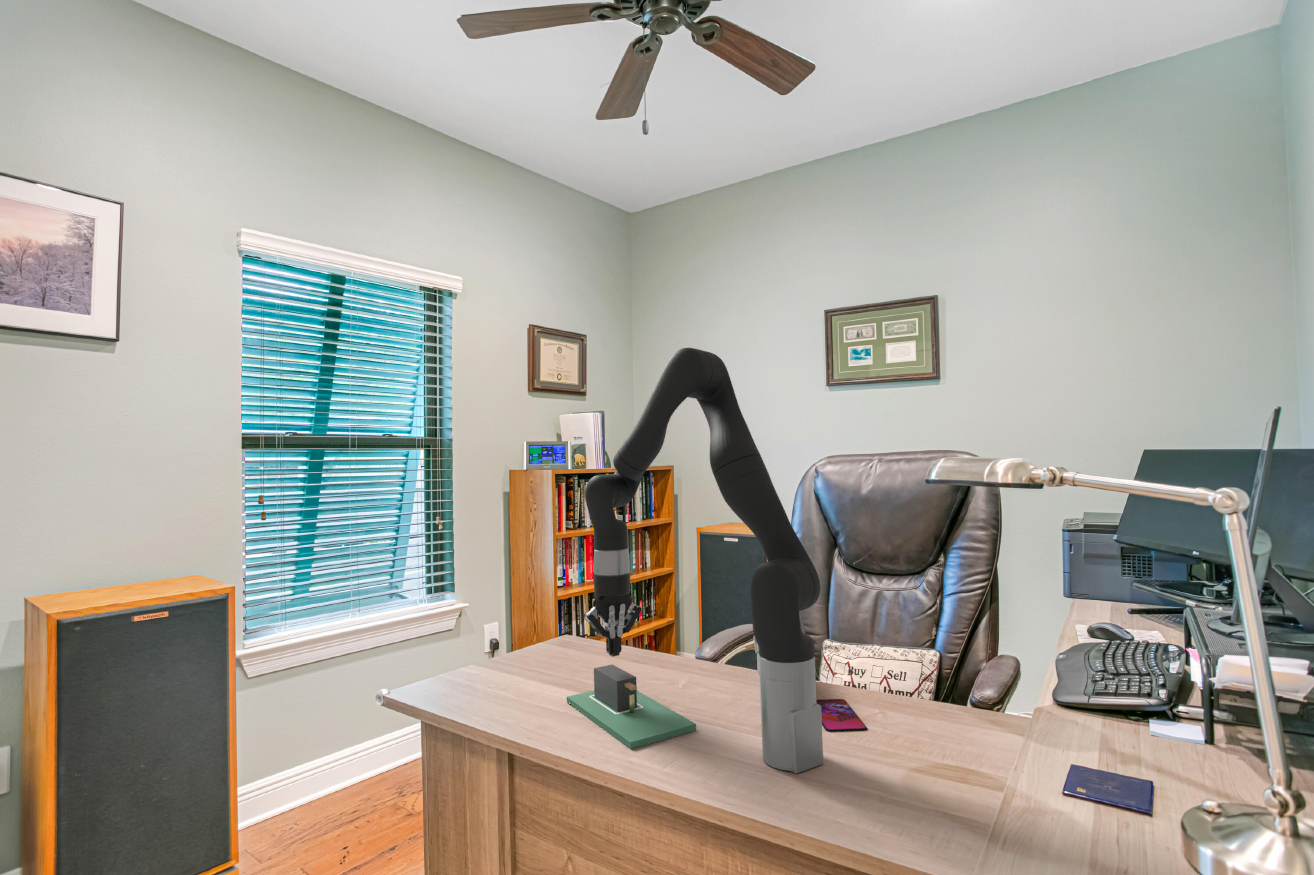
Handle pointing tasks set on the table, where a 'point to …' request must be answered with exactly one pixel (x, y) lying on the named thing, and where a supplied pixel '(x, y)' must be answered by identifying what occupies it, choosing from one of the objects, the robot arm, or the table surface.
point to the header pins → (631, 703)
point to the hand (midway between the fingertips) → (614, 655)
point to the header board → (633, 719)
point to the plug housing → (614, 687)
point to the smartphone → (839, 716)
